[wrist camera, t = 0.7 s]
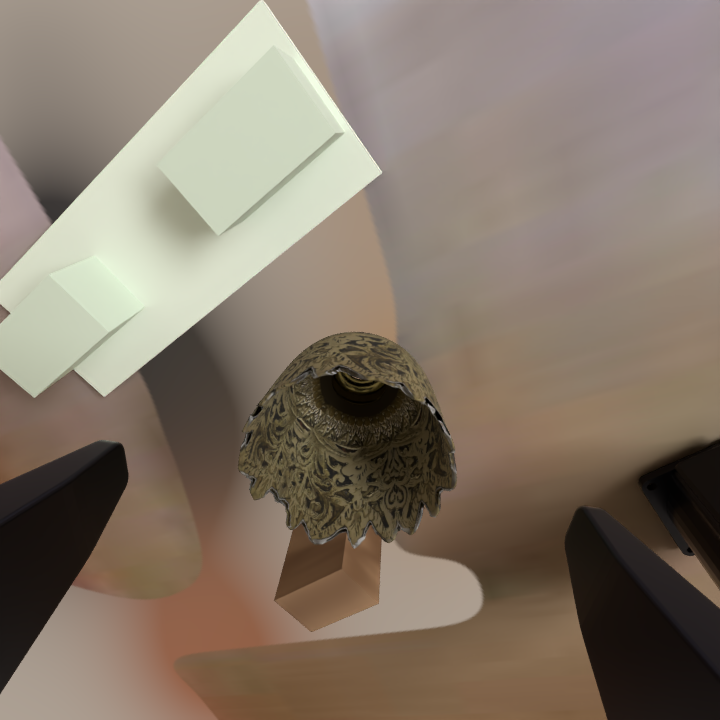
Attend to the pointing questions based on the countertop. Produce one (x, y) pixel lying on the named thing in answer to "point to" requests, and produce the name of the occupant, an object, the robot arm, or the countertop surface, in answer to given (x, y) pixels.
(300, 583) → the brown rectangular block
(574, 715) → the countertop surface
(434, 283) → the countertop surface
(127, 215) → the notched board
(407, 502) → the cup
